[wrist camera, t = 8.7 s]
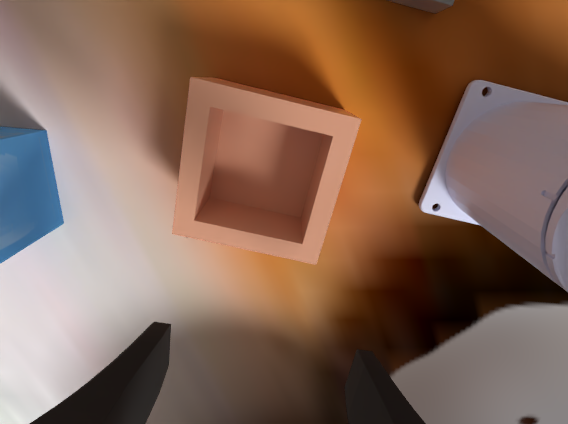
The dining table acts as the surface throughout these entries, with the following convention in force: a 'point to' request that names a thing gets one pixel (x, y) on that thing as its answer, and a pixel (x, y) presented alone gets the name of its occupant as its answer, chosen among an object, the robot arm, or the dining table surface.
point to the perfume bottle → (26, 190)
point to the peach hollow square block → (260, 168)
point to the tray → (426, 4)
